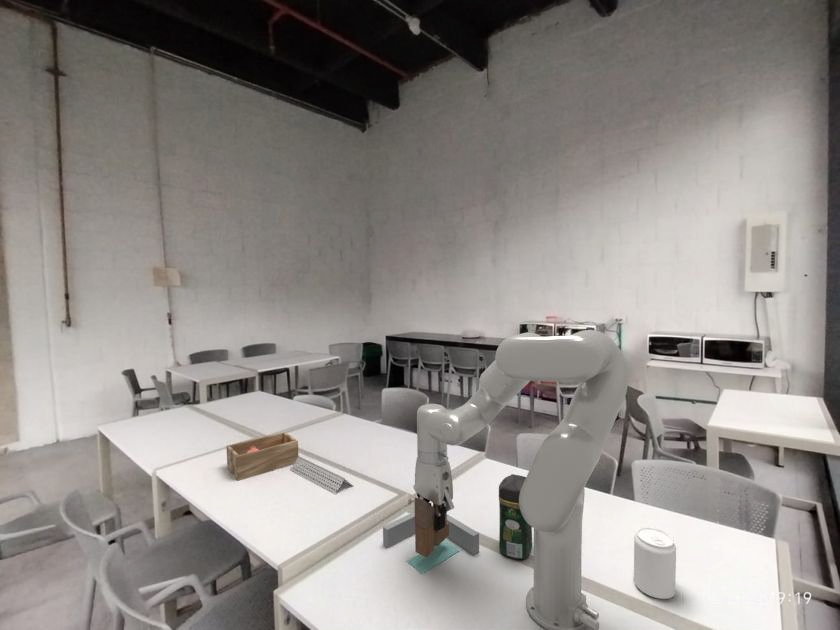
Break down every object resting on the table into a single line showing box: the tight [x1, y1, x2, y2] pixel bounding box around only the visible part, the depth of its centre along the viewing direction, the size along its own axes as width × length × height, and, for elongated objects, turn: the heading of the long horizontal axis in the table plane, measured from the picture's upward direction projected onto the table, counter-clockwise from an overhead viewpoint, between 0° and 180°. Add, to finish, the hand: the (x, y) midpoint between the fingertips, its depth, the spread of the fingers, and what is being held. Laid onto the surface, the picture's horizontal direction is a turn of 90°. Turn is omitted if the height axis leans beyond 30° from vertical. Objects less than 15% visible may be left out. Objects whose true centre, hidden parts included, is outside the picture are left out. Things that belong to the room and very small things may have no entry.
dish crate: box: [226, 431, 299, 482], centre depth 158 cm, size 14×23×9 cm, turn 130°
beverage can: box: [633, 527, 677, 600], centre depth 90 cm, size 8×8×12 cm
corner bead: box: [289, 455, 354, 495], centre depth 147 cm, size 29×9×5 cm, turn 48°
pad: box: [406, 539, 461, 575], centre depth 102 cm, size 6×13×1 cm, turn 130°
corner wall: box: [382, 505, 480, 556], centre depth 105 cm, size 19×17×5 cm
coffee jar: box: [498, 473, 533, 560], centre depth 104 cm, size 10×8×19 cm
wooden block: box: [414, 497, 449, 557], centre depth 102 cm, size 4×11×18 cm, turn 145°
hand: (432, 523), depth 102 cm, fingers closed on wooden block, 4 cm apart
